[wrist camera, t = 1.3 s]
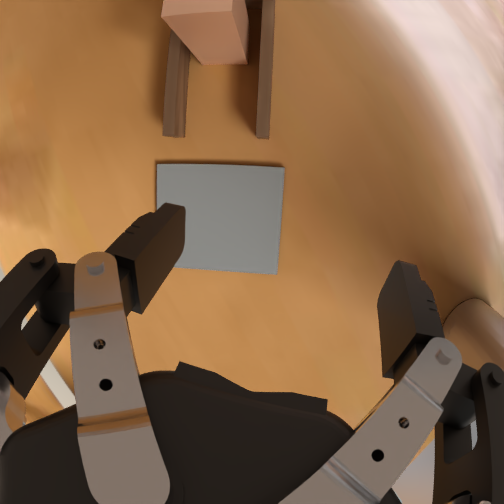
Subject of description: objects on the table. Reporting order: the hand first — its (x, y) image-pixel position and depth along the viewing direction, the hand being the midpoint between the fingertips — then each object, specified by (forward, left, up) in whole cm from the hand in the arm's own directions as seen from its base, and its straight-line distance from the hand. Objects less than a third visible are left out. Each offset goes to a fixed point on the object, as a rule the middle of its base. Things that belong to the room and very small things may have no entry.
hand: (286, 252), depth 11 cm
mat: (+6, +4, -23) cm, 24 cm away
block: (+6, -16, -23) cm, 29 cm away
